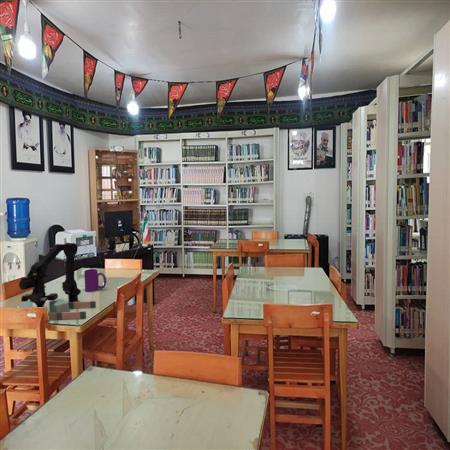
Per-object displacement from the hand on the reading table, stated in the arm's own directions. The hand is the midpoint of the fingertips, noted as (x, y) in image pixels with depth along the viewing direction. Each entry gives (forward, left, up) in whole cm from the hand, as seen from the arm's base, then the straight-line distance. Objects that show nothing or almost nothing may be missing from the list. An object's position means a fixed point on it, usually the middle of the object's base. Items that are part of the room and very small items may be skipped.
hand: (40, 311), depth 209 cm
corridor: (0, +17, -2) cm, 17 cm away
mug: (-50, +18, -2) cm, 53 cm away
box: (-1, +10, -2) cm, 11 cm away
